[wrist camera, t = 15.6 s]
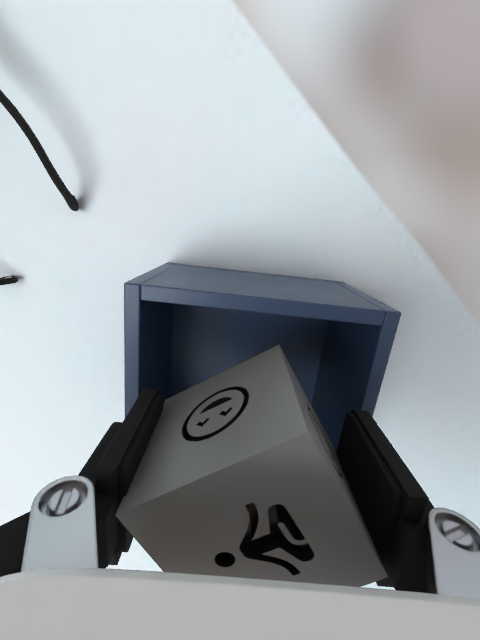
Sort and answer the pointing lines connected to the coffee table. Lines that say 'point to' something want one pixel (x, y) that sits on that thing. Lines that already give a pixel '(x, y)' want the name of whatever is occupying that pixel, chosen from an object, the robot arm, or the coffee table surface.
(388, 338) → the sorting bin
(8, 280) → the sunglasses
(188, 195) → the coffee table surface
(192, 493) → the dice cube
